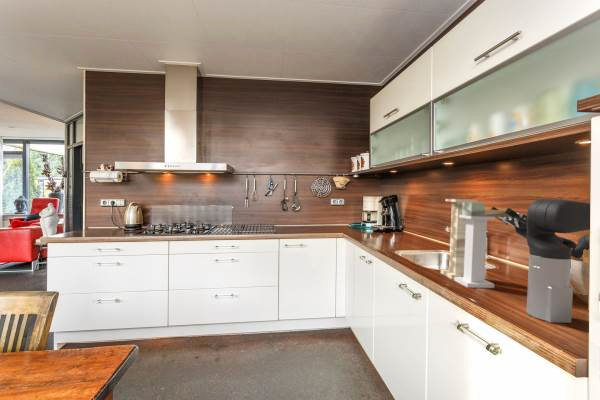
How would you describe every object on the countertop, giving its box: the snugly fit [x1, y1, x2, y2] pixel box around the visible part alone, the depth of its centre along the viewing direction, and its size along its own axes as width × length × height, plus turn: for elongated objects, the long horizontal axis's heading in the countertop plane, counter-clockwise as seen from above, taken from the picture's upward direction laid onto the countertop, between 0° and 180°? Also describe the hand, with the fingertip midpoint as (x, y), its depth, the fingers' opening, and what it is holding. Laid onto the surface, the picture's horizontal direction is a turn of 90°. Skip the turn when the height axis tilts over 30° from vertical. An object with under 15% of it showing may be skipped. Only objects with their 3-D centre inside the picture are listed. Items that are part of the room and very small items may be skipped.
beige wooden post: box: [440, 198, 479, 280], centre depth 129 cm, size 9×10×32 cm
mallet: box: [462, 202, 510, 217], centre depth 117 cm, size 6×18×5 cm, turn 92°
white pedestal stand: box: [453, 215, 496, 289], centre depth 118 cm, size 9×10×26 cm
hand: (498, 209), depth 118 cm, fingers open, 8 cm apart
